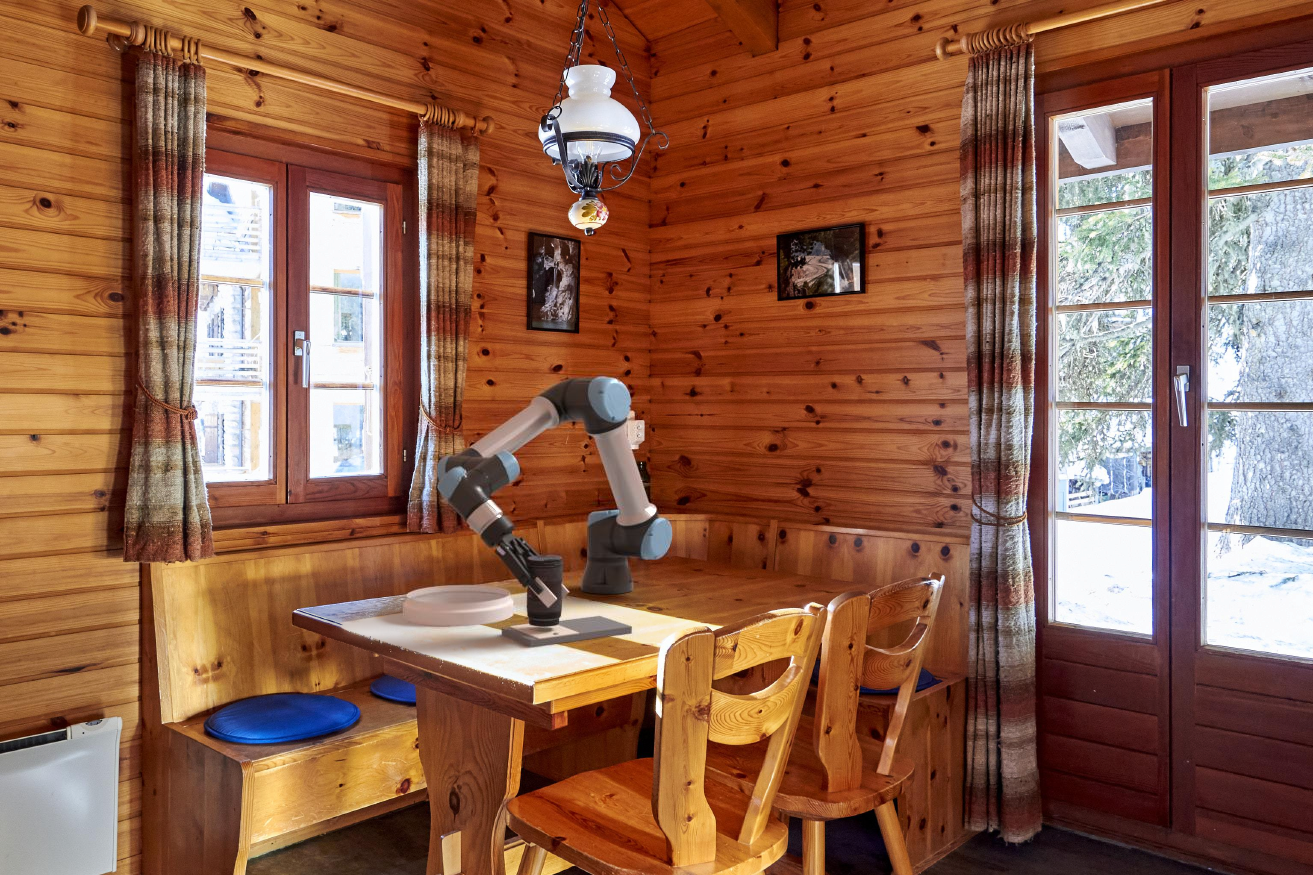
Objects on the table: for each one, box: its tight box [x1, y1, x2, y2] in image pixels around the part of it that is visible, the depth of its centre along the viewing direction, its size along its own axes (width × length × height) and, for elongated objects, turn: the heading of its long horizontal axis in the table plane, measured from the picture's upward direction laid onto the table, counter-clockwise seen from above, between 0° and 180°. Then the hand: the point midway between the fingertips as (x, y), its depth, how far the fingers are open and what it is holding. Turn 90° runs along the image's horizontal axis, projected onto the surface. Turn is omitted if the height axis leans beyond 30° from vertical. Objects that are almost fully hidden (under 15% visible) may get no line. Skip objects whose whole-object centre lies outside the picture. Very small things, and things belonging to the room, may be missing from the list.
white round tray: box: [402, 584, 515, 627], centre depth 232 cm, size 27×27×6 cm
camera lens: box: [526, 554, 564, 627], centre depth 208 cm, size 8×8×15 cm
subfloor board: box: [501, 615, 633, 648], centre depth 212 cm, size 26×14×2 cm, turn 125°
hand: (558, 599), depth 208 cm, fingers closed on camera lens, 8 cm apart
